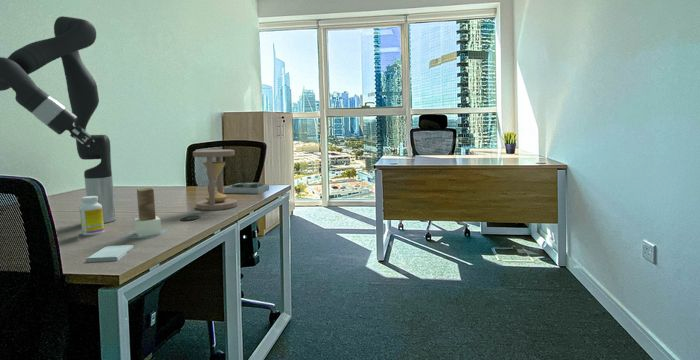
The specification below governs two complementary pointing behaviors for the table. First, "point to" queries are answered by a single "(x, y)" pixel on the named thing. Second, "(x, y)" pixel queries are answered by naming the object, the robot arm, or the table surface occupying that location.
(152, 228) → the cream block
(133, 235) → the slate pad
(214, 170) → the hourglass
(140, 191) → the walnut pillar
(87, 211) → the supplement bottle
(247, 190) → the grey organizer frame
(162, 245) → the table surface
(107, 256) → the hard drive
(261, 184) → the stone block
